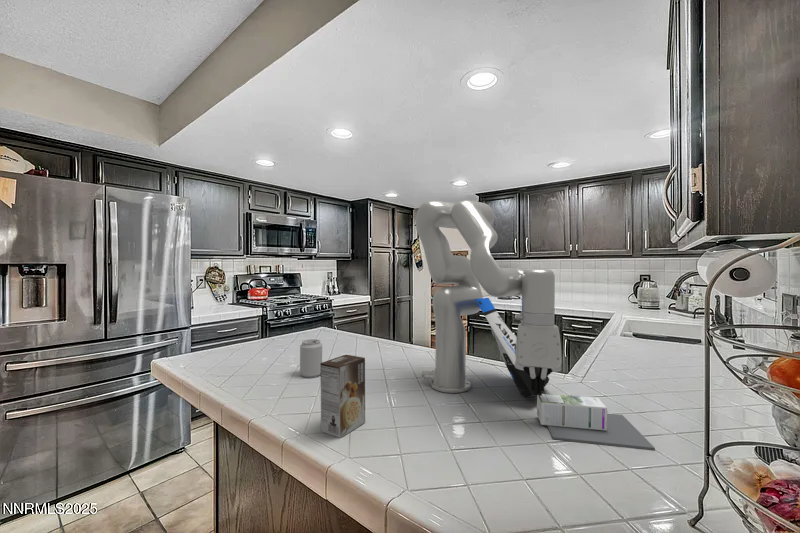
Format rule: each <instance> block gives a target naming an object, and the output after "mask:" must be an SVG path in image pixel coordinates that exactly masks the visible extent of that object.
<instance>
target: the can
mask: <svg viewBox="0 0 800 533" xmlns="http://www.w3.org/2000/svg"><path fill="white" fill-rule="evenodd" d="M299 362H300V363H299V374H300V375H301V376H302V377H303V378H308V379H312V378H316V377H319V376H321V364H320V363H322V362H323V343H321V340H320V339H318V338H317V339H316V338H309V339H305V340H302V342H301V345H300V346H299Z"/></svg>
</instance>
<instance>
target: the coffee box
mask: <svg viewBox="0 0 800 533" xmlns="http://www.w3.org/2000/svg"><path fill="white" fill-rule="evenodd" d="M320 364H321V374H320V431H321V432H322V433H326V434H328V435H331V436H334V437H335V438H336V437H337V438H338V439H342V438H343V437H344V436H346V435H348V434H349V433H350V432H352V431H355V429H357V428H359V427H360V426H362V425H364V424H365V423H366V357H363V356H357V355H356V356H355V355H351V354H343V355H340V356H337V357H334V358H331V359H328V360H325V361H322V363H320Z"/></svg>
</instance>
